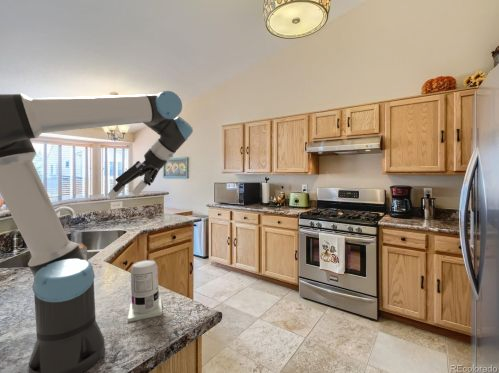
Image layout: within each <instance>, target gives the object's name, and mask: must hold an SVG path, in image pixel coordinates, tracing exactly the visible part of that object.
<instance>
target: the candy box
mask: <svg viewBox="0 0 499 373" xmlns="http://www.w3.org/2000/svg"><path fill="white" fill-rule="evenodd" d="M77 244H78V246H79V248H80V250H81V252H82V255H83V257H84V258H85V259H86V260H87V261H88V262H89V259H88V258H89V256H88V247H87V246H86V245H85V244H84V243H83V242H79V243H77Z"/></svg>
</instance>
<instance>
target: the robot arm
mask: <svg viewBox="0 0 499 373" xmlns="http://www.w3.org/2000/svg"><path fill="white" fill-rule="evenodd" d="M182 110H183V103H182V100H181V98H180V97H179V95H178V94H177V93H175V92H174V91H171V90H163V91H161V92H159V93H156V94H135V95H134V94H133V95H132V94H131V95H102V96H100V95H99V96H78V97H77V96H75V97H73V96H72V97H71V96H70V97H47V98H46V97H42V98H40V97H39V98H31V97H28V96H27V95H25V94H23V93H12V94H11V93H10V94H9V93H7V94H6V93H5V94H4V93H3V94H2V93H1V94H0V195H1V197H2V199H3V201H4V204H5V206H6V207H7V210H8V211H9V213H10V214H11V218H12V219H13V221H14V223H15V225H16V227H17V229H18V231H19V233H20V234H21V235H20V236H21V237H22V239H23V241H24V243H25V244H26V246H27V249H28V250H29V252H30V255H31V258H30V259H29V261H28V263H27V266H28V268H29V269H30V272H31V273H32V276H33V283H32V292H33V295H34V297H33V298H34V311H35V312H34V313H35V327H36V328H35V331H36V340H35V343H34V347H33V349H32V352H31V355H30V358H29V362H28V366H27V372H28V373H84V372H86V371H87V370H88V369H89V370H90V368H91V367H93V366H94V365H96V363H97V362H98V361H100V359H101V358H102V357H103V355H104V353H105V351H106V344H105V342H106V341H105V337H104V335H103V332H102V330H101V329H100V326H99V325H98V323H97V320H96V302H95V301H96V299H95V281H94V280H95V271H94V267H93V265H92V263H91V262H90V261H89V260H88V261H87V260H86V259H85V258H84V257H83V255H82V252H81V250H80V248H79V246H78V244H79V243H78V242H74V241H71V240H69V238H68V235H67V233H66V231H65V229H64V226H63V224H62V223H61V221H60V218H59V215H58V214H57V211H56V210H55V208H54V207H55V206H54V205H53V203H52V201H51V198H50V197H49V195H48V192H47V190H46V188H45V185H44V184H43V181H42V179H41V177H40V175H39V173H38V170H37V168H36V167H35V164H34V162H33V161H34V158H35V157H36V155H37V152H36V149H35V147H34V146H33V142H32V141H31V139H38V138H39V136H40V135H42V134H44V133H45V134H46V133H55V132H64V131H65V132H66V131H72V130H73V131H74V130H75V131H76V130H85V129H92V128H95V129H96V128H103V127H113V126H123V125H124V126H125V125H133V124H134V125H135V124H144V125H145V126H147V127H148V128H149V129H151V130H152V131H153V132H155V133H156V134H157V135H158V136H159V137H158V138H157V140H155V142H153V144H152V145H151V146H150V148H149V149H148V150H147V151H146V152H145V153H144V156H143V157H144V161H143V162H141V161H140V160H137V161H136V162H135V163H134V164H133V165H132V166H131V167H129V168H128V169H127V170H126V171H125V172H123V173H121V174H120V175H119V176H118V177H116V178H115V181H116V182H117V183H116V184H115V185H114V186H113V188H112V189H111V190H110V191H109V192H108V193H107V196H108V197H109V198H110V199H111V200H113V201H114V200H115V199H116V198H117V197H118V196H119V195H120V194H121V192H122V191H124V189H125V188H126V185H128V184H129V183H131V182H132V181H134V180H135V179H137V178H139V177H143V179H141V180H140V182H139V183H138V184H137V185H136V186H135V187H134V188H133V190H131V193H132V194H133V195H134V196H135V197H138V196H139V195H140V194H141V193H142V192H143V190H144V189H145V188H146V187H147V186H149V187H150V186H151V185H152V183H154V181H155V179H156V178H157V176H158V173H159V171H160V170H161V169H162V168H163V167H164V166H165V165H166V164H167V162H168V161H169V160H170V159H171V158H173V157H174V155H175V153H176V152H177V151H178V150H179V149H180V148H181V147H182V145H184V144H185V142H187V141H188V139H189V137H190V136H191V135H192V133H193V132H194V130H193V127H192V126H191V125H190V123H188V122H187V121H186V120H185V119H183V118H182V117H181V116H179V115H180V114H181V113H182Z"/></svg>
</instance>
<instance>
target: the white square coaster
mask: <svg viewBox="0 0 499 373" xmlns="http://www.w3.org/2000/svg"><path fill="white" fill-rule="evenodd" d="M162 303H163V302H162V297H159V304H158V306H157V307H156V308H155V309H154V310H153V311H150V312H148V313H136V312H135V311H133V309H132V302H130V304H129V309H128V315H127V322H134V321H140V320H145V319H149V318H150V319H151V318H154V317H159V316H162V315H163V307H162V306H163V304H162Z"/></svg>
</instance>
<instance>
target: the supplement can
mask: <svg viewBox="0 0 499 373" xmlns="http://www.w3.org/2000/svg"><path fill="white" fill-rule="evenodd" d="M130 287H131V288H130V289H131V292H130V293H131V303H132V309H133V311H135V312H136V313H148V312H150V311H153V310H154V309H155V308H156V307H157V306H158V304H159V298H160V297H159V296H160V295H159V294H160V293H159V267H158V264H157V263H156V261H155V260H152V259H145V260H144V259H143V260H139V261H136V262H134V263H133V264H132V266H131V269H130Z"/></svg>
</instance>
